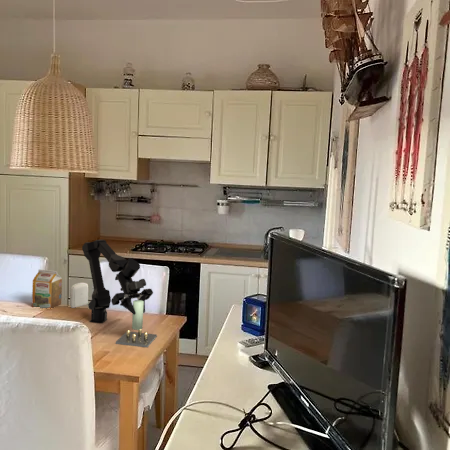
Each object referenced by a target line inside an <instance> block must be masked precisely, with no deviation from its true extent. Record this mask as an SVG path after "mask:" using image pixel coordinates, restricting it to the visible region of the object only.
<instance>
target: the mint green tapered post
mask: <svg viewBox="0 0 450 450" xmlns="http://www.w3.org/2000/svg"><path fill="white" fill-rule="evenodd" d="M132 305H133V307H134V309H135V312H136V314H135V315H134V314H133V313H132V317H131V321H132V323H131V329H132V330H133V331H134V330H136V331H138V330H141V329H143V322H144V313H143V306H144V301H142V300H138V299H135V300H133V301H132Z"/></svg>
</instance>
